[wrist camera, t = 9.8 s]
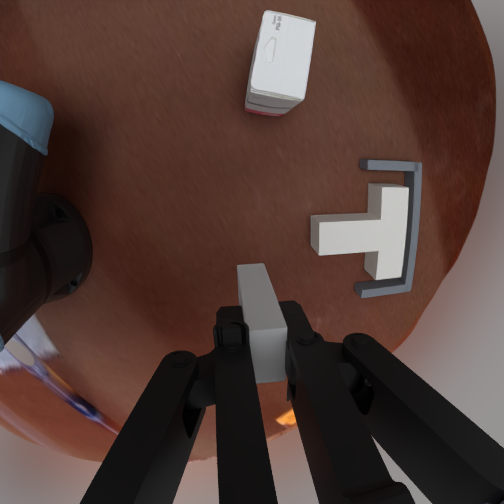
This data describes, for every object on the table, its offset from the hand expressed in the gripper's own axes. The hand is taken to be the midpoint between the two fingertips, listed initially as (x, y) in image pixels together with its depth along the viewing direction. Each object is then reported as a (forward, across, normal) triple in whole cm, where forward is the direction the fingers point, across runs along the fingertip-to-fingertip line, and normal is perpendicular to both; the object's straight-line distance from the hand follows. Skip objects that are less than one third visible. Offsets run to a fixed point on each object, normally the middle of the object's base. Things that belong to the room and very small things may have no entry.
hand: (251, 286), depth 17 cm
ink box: (+22, +5, +16) cm, 27 cm away
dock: (+21, +21, -3) cm, 30 cm away
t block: (+21, +16, -3) cm, 26 cm away
